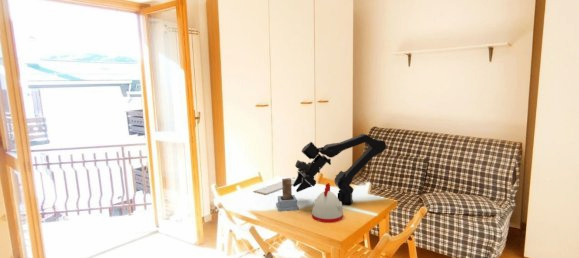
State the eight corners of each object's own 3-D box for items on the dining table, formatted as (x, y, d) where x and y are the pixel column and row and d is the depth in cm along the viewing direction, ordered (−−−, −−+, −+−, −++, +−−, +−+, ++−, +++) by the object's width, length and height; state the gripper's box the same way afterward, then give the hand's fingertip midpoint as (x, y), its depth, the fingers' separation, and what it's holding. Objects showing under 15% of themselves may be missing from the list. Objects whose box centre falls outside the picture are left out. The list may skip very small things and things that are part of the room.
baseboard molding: (251, 192, 187) (266, 196, 179) (250, 187, 187) (265, 191, 179) (286, 180, 211) (300, 183, 203) (285, 176, 210) (300, 179, 203)
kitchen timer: (345, 213, 150) (345, 181, 148) (339, 224, 137) (339, 189, 136) (316, 209, 155) (316, 179, 153) (308, 220, 142) (307, 187, 141)
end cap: (295, 202, 165) (295, 194, 165) (299, 209, 155) (298, 200, 155) (276, 204, 164) (275, 195, 163) (278, 211, 154) (278, 202, 154)
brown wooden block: (290, 203, 161) (290, 178, 160) (291, 205, 158) (291, 179, 157) (282, 204, 161) (282, 178, 159) (283, 206, 158) (283, 180, 156)
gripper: (301, 151, 167) (280, 173, 167) (308, 158, 149) (285, 183, 149) (316, 165, 169) (296, 187, 169) (325, 173, 151) (303, 198, 151)
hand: (295, 188), depth 159 cm, fingers open, 9 cm apart
